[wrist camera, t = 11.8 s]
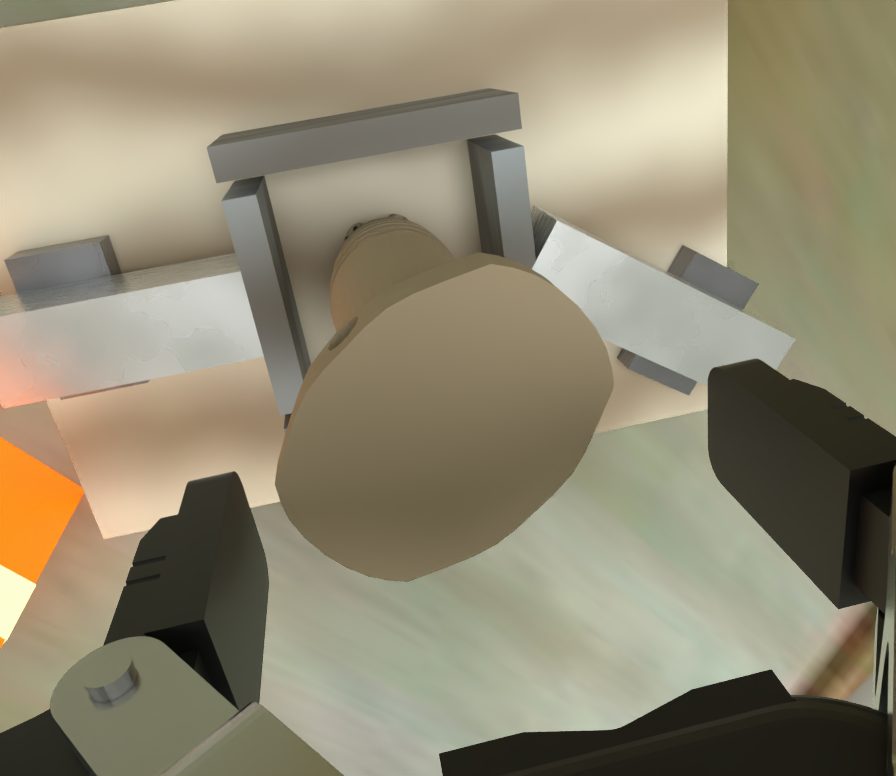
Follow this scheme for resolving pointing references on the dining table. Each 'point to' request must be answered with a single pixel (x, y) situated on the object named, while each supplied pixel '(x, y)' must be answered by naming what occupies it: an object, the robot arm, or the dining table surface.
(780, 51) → the dining table surface
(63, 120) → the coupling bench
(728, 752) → the robot arm
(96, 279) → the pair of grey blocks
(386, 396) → the handle
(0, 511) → the orange juice
